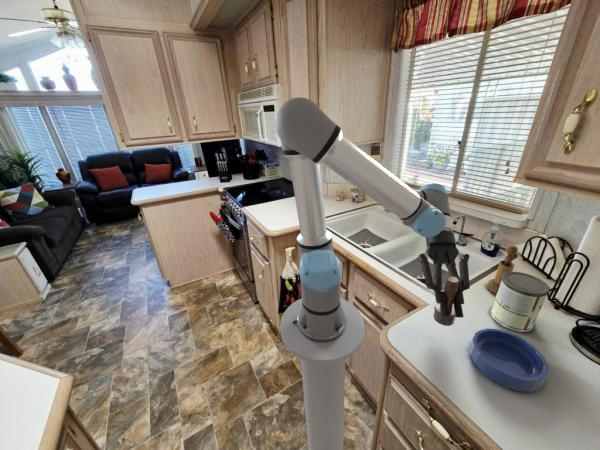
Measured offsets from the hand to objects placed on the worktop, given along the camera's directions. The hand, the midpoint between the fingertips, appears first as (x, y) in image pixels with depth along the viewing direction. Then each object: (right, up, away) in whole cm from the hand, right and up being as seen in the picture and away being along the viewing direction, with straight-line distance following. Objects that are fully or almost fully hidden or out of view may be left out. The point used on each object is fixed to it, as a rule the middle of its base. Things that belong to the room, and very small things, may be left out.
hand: (452, 316), depth 66 cm
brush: (+1, -3, +5) cm, 6 cm away
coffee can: (+25, -5, +11) cm, 27 cm away
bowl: (+12, -11, -2) cm, 16 cm away
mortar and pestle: (+30, +1, +23) cm, 38 cm away
